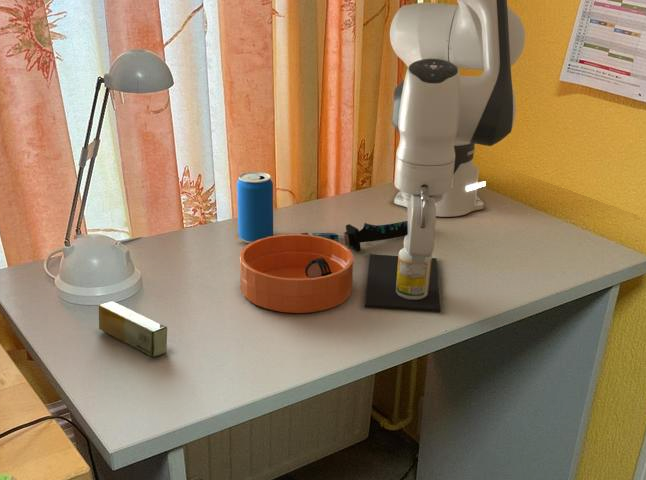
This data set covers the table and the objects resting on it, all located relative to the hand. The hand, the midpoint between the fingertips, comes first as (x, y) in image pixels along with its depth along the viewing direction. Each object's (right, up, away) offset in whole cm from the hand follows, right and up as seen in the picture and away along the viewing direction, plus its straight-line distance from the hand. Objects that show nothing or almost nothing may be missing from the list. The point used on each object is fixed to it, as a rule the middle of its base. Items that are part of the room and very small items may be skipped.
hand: (416, 259), depth 127 cm
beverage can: (-28, +6, +21) cm, 36 cm away
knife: (-7, +5, +20) cm, 22 cm away
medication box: (-42, -14, -13) cm, 46 cm away
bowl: (-19, -5, +4) cm, 20 cm away
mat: (-2, -3, +7) cm, 8 cm away
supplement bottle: (-1, -5, +3) cm, 6 cm away
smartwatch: (-16, -5, +3) cm, 17 cm away
